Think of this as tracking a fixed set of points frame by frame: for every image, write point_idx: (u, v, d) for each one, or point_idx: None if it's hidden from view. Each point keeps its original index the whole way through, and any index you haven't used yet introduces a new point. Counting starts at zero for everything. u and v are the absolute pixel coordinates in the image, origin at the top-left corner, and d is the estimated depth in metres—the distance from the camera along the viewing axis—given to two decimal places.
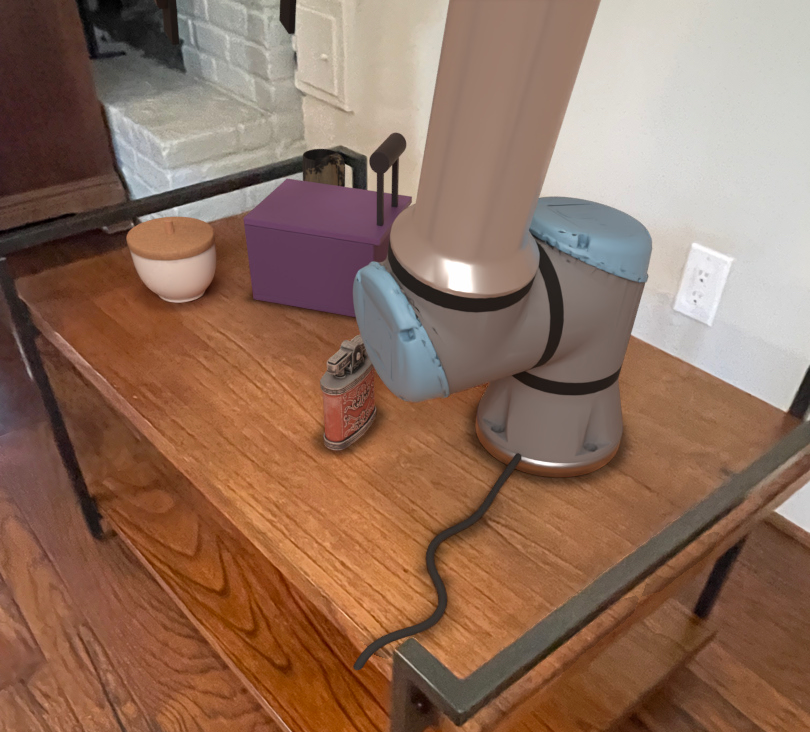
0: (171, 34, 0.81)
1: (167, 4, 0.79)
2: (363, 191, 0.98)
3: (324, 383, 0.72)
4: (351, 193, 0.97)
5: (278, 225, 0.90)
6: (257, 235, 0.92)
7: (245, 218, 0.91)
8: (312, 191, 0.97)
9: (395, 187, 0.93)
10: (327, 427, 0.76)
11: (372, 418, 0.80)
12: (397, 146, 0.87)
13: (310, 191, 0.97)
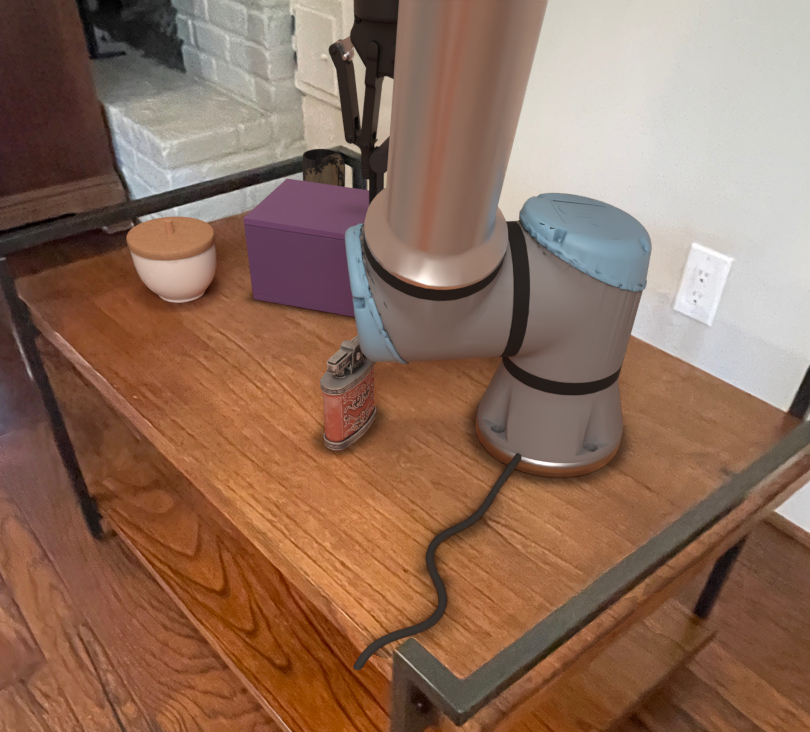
0: (369, 201, 0.91)
1: None
2: (363, 191, 0.98)
3: (324, 383, 0.72)
4: (351, 193, 0.97)
5: (278, 225, 0.90)
6: (257, 235, 0.92)
7: (245, 218, 0.91)
8: (312, 191, 0.97)
9: None
10: (327, 427, 0.76)
11: (372, 418, 0.80)
12: None
13: (310, 191, 0.97)
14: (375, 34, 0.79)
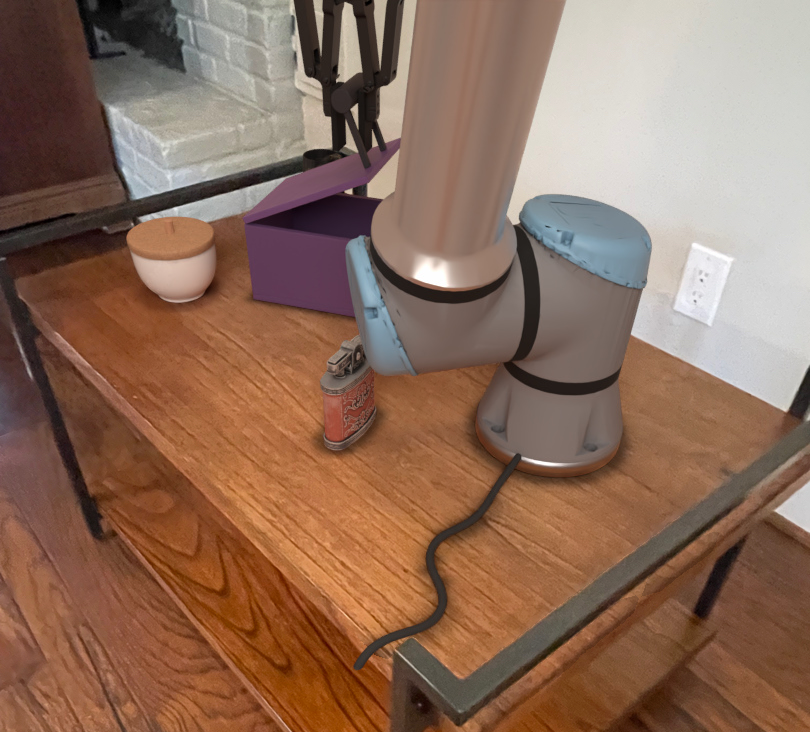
0: (332, 140, 0.87)
1: None
2: (355, 154, 0.95)
3: (324, 383, 0.72)
4: (343, 160, 0.95)
5: (273, 209, 0.89)
6: (257, 235, 0.92)
7: (244, 217, 0.91)
8: (307, 175, 0.96)
9: (376, 129, 0.89)
10: (327, 427, 0.76)
11: (372, 418, 0.80)
12: (358, 82, 0.84)
13: (305, 176, 0.96)
14: None
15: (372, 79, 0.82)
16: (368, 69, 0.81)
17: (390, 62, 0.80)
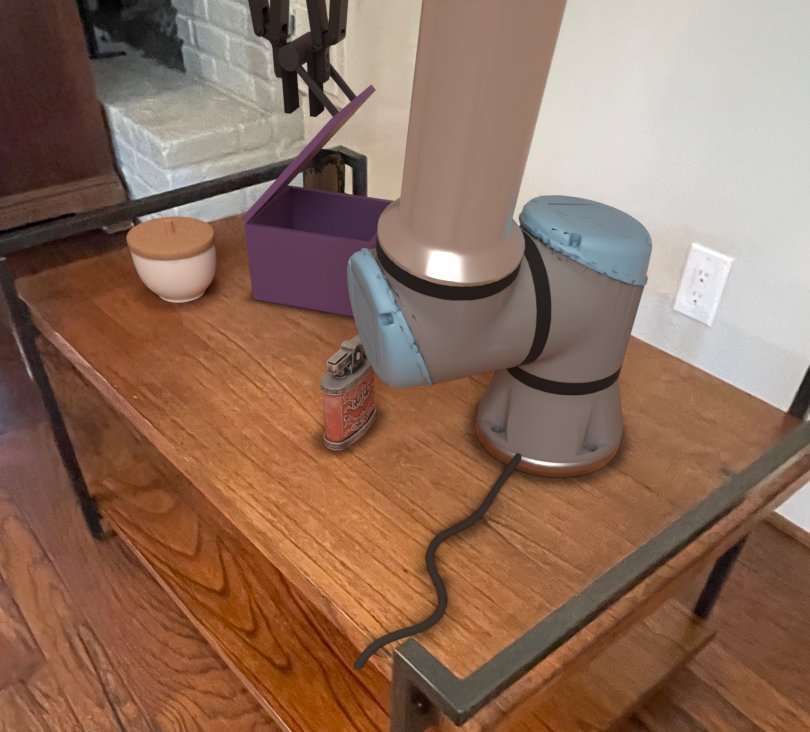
0: (284, 102, 0.86)
1: None
2: None
3: (324, 383, 0.72)
4: None
5: (264, 196, 0.88)
6: (257, 235, 0.92)
7: (242, 217, 0.91)
8: None
9: (340, 81, 0.86)
10: (327, 427, 0.76)
11: (372, 418, 0.80)
12: (302, 38, 0.82)
13: None
14: None
15: (320, 38, 0.80)
16: (316, 27, 0.80)
17: (338, 20, 0.79)
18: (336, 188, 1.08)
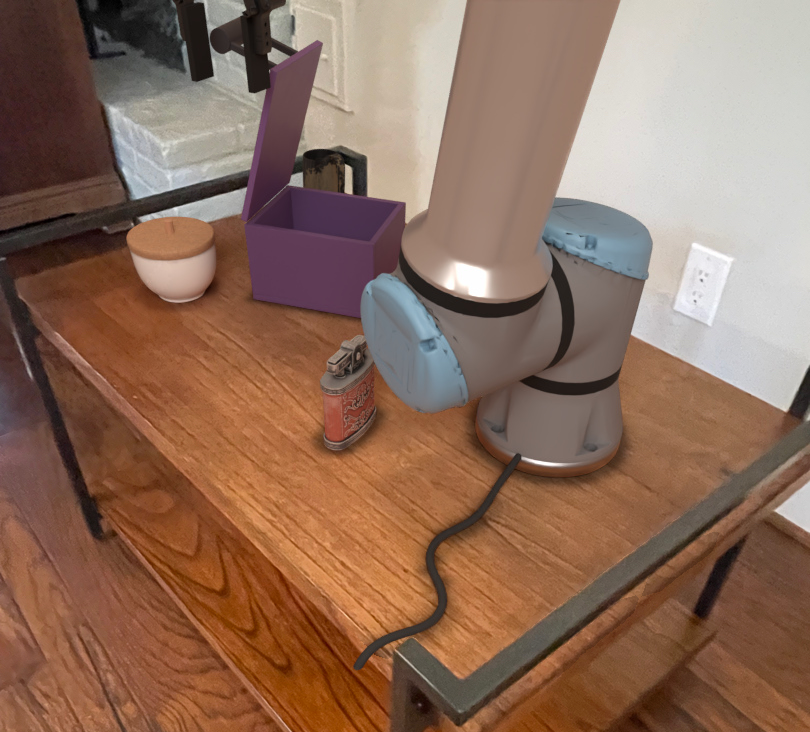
0: (190, 68, 0.79)
1: None
2: None
3: (324, 383, 0.72)
4: None
5: (249, 185, 0.88)
6: (257, 235, 0.92)
7: (241, 217, 0.91)
8: None
9: (283, 47, 0.86)
10: (327, 427, 0.76)
11: (372, 418, 0.80)
12: None
13: None
14: None
15: (252, 1, 0.71)
16: None
17: None
18: (336, 188, 1.08)
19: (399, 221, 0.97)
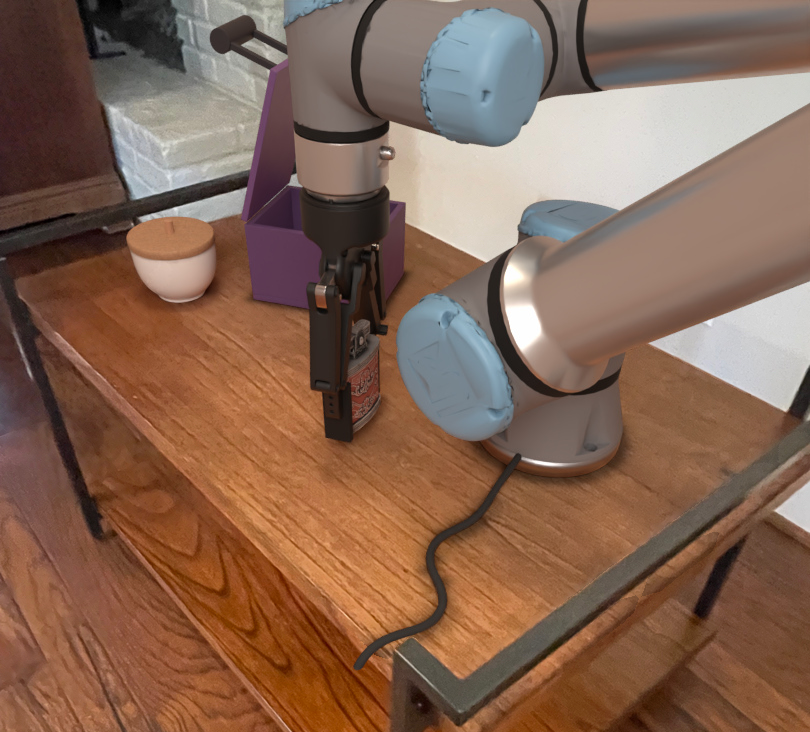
0: None
1: None
2: None
3: None
4: None
5: (249, 185, 0.88)
6: (257, 235, 0.92)
7: (241, 217, 0.91)
8: None
9: (283, 47, 0.86)
10: None
11: (376, 406, 0.79)
12: None
13: None
14: None
15: None
16: None
17: (310, 367, 0.67)
18: None
19: (399, 221, 0.97)
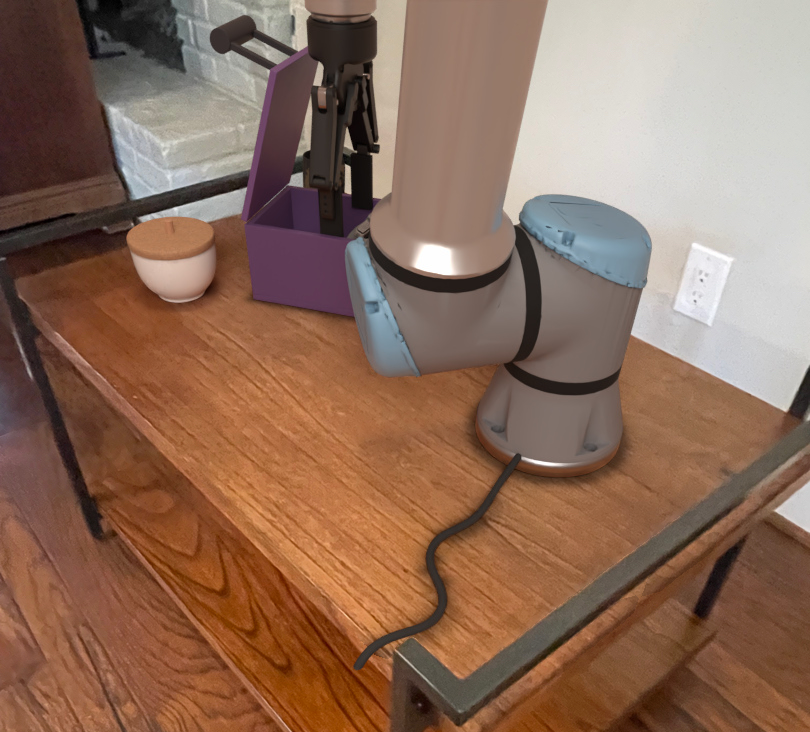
0: None
1: None
2: None
3: None
4: None
5: (249, 185, 0.88)
6: (257, 235, 0.92)
7: (241, 217, 0.91)
8: None
9: (283, 47, 0.86)
10: None
11: None
12: None
13: None
14: None
15: None
16: None
17: (310, 164, 0.83)
18: None
19: None
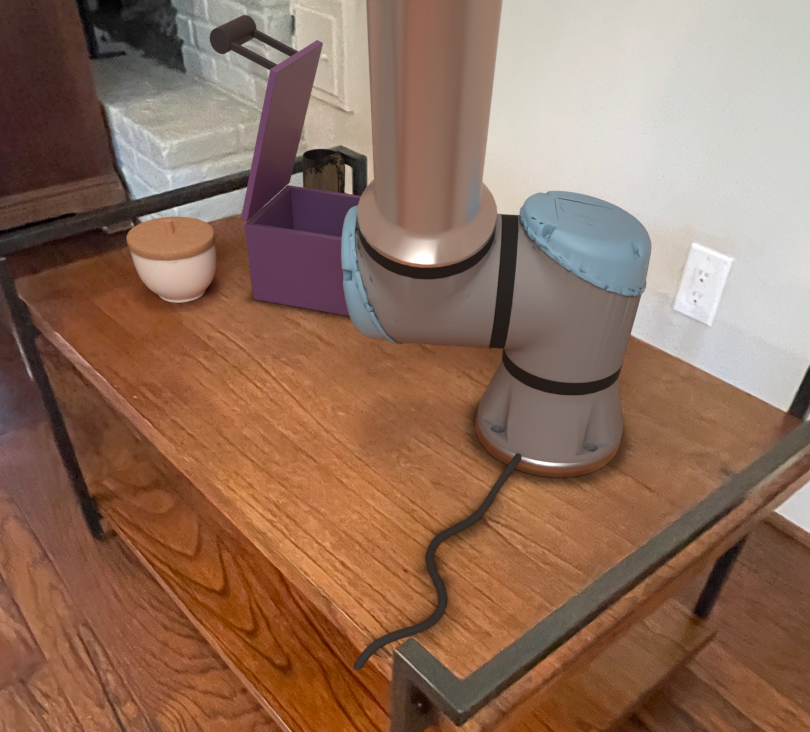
0: None
1: None
2: None
3: None
4: None
5: (249, 185, 0.88)
6: (257, 235, 0.92)
7: (241, 217, 0.91)
8: None
9: (283, 47, 0.86)
10: None
11: None
12: None
13: None
14: None
15: None
16: None
17: None
18: (336, 188, 1.08)
19: None
